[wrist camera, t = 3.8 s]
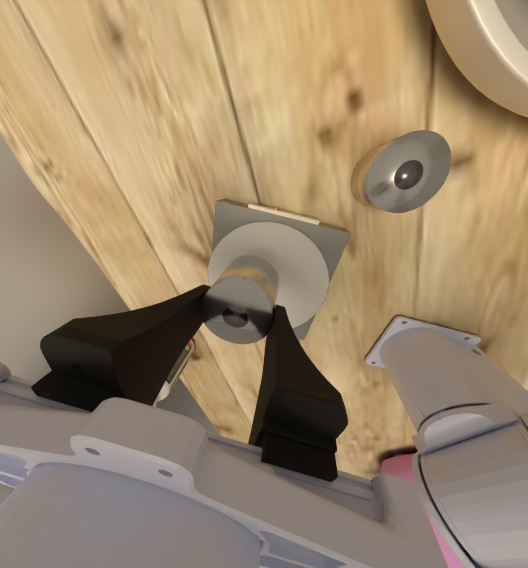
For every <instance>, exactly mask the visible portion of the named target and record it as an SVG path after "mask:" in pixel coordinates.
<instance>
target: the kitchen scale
mask: <svg viewBox="0 0 528 568" xmlns="http://www.w3.org/2000/svg"><path fill="white" fill-rule="evenodd" d="M319 222H320V221H319V220H318V219H314V218H310V217H306V216H302V215H298V214H294V213H290V212H286V211H282V210H278V207H275V208H274V209H273V208H269V207H265V206H261V205H257V204H253V203H250V204H248V205H245V204H241V203H237V202H233V201H229V200H225V199H222V200H217V201H216V207H215V220H214V234H213V248H212V255H211V258H210V261H209V266H208V281H209V286H210V287H211V286H212V285H213V284H214V283H215V281H216V280H217V279H218V277H219V276H220V275H221V274H222V272H223V271H224V270H225V269H226V267H227V266H228V265H229V264H230V263H231V261H233V260H234V259H236V258H238V257H240V256H244V255H253V256H258V257H260V258H263V259H265V260H266V261H268V262H269V263H270V264H271V265H272V266H273V267H274V269H275V270H276V272H277V275H278V278H279V286H278V292H277V297H276V303H275V305H280V306H284V307H285V308H286V312H287V315H288V318H289V321H290V324H291V326H292V329H293V331H294V333H295V335H296V337H297V339H300V340H304V339H305V337H306V335H307V332H308V330H309V328H310V326H311V323H312V321H313V319H314V317H315V314H316V313H317V312H318V310H319V309H320V307H321V306H322V304H323V302H324V300H325V298H326V295H327V291H328V286H329V282H330V280H331V278H332V275H333V273H334V271H335V269H336V266H337V264H338V262H339V260H340V257H341V255H342V253H343V250H344V248H345V246H346V244H347V241H348V239H349V237H350V234H351V233H349V232H348V231H347V230H346V229H343V228H339V227H335V226H331V225H327V224H323V223H319Z"/></svg>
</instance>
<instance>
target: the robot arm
mask: <svg viewBox="0 0 528 568" xmlns="http://www.w3.org/2000/svg"><path fill="white" fill-rule="evenodd" d="M210 288H211V287H210V286H207V285H201V286H199V287H197V288H194V289H192V290H190V291H188V292H186V293H184V294H181V295H179V296H177V297H174V298H172V299H169V300H166V301H164V302H161V303H158V304H155V305H152V306H148V307H145V308H140V309H136V310H132V311H128V312H123V313H117V314H111V315H104V316H96V317H88V318H77V319H73V320H71V321H69V322H68V323H66V324H64V325H63V326H61V327H60V328H58V329H56V330H54V331H53V332H51V333H49V334H48V335H46V336H44V337H43V338H42V340H41V343H40V348H41V350H42V353H43V355H44V357H45V359H46V360H47V362H48V364H49V366H50V368H51V370H52V371H51V372H50V373H48V374H47V375H46V376H44V377H43V378H42V379H40V380H39V381H38V382H34V381H30V380H27V379H23V378H20V377H17V376H13V375H11V372H10V370H9V369H8V367H6V365H4V364H3V363H1V362H0V483H2V484H4V485H7V486H10V487H12V488H15V490H14V491H13V493H12V494H11V495H10V496H9V497H8V498H7V499H6V500H5V501H4V503H2V504H1V506H0V568H259V566H262V567H266V568H448V566H447V563H446V561H445V558H444V556H443V553H442V551H441V548H440V546H439V543H438V541H437V538H436V536H435V533H434V531H433V528H432V526H431V523H430V521H429V518H428V516H427V513H428V515H429V517H430V519H431V520H432V522H433V524H434V525H435V527H436V528H437V530H438V532H439V533H440V535H441V536H442V537H443V539H444V540H445V542H446V543H447V544H448V545H449V547H450V548H451V549H452V550H453V552H454V553H455V555H456V556H457V558H458V559H459V561H460V562H461V564H462V565H463V567H464V568H528V391H527V390H526V389H525V388H524V387H522V386H521V385H520V384H519V383H518V382H517V381H516V380H515V379H513V378H512V377H511V376H510V375H509V374H508V373H507V372H505V371H504V370H503V369H502V368H501V367H500V366H499V365H497V364H496V363H495V362H494V361H493V360H492V359H491V358H489V357H488V356H487V355H486V354H485V353H484V352H483V351H481V350H480V349H479V348H478V347H477V346H476V345H477V344H478V343H479V342H480V341H481V338H480V337H478V336H477V335H473V334H469V333H465V332H461V331H457V330H453V329H449V328H445V327H441V326H437V325H434V324H430V323H426V322H422V321H418V320H414V319H410V318H406V317H402V316H397V317H395V318H394V319H393V321H392V322H391V323H390V325H389V326H388V328H387V329H386V330H385V332H384V333H383V335H382V336H381V337H380V339H379V340H378V342H377V343H376V344H375V346H374V347H373V349H372V350H371V351H370V353H369V354H368V356H367V357H366V358H365V362H366V364H369V365H373V366H377V367H381V368H384V369H386V370H387V372H388V374H389V376H390V378H391V380H392V382H393V384H394V386H395V388H396V390H397V392H398V394H399V396H400V398H401V400H402V402H403V404H404V406H405V408H406V410H407V412H408V414H409V416H410V418H411V420H412V422H413V424H414V426H415V428H416V430H417V432H418V434H416V435H415V436H413V437H412V440H413V442H414V444H415V446H416V448H417V450H418V452H416V453H415V454H414V455H413V457H412V470H413V475H414V481H415V484H414V483H413V482H412V481H409V480H406V479H402V478H399V477H396V476H392V475H389V474H378V475H376V476H374V477H373V478H372V480H370V479H366V478H363V477H359V476H356V475H352V474H349V473H346V472H342V471H339V470H337V466H336V459H335V453H336V452H337V445H336V438H337V437H338V436H339V435H340V434H341V433H342V432H343V431H344V429H345V428H346V426H347V425H348V418H347V413H346V409H345V405H344V402H343V399H342V396H341V394H340V393H339V392H338V391H337V390H336V389H335V388H334V386H333V385H332V384H331V383H330V382H329V381H328V380H327V379H326V378H325V377H324V376H323V375H322V374H321V373H320V371H319V370H318V369H317V368H316V367H315V365H314V364H313V363H312V361H311V360H310V359H309V357H308V356H307V355H306V353H305V351H304V350H303V348H302V347H301V345H300V343H299V341H298V339H297V337H296V335H295V333H294V331H293V329H292V326H291V324H290V321H289V318H288V315H287V312H286V308H285V307H284V306H280V305H275V308H274V314H273V320H272V325H271V329H270V331H269V332H268V334H267V337H266V345H265V355H264V365H263V374H262V380H261V385H260V390H259V395H258V400H257V405H256V410H255V415H254V419H253V424H252V429H251V434H250V438H249V443H248V444H246V443H243V442H239V441H236V440H233V439H229V438H226V437H222V436H218V435H215V434H212V433H209V432H206V431H205V428H204V427H203V426H202V425H200V424H199V423H198V422H197V421H195V420H193V419H191V418H188V417H186V416H183V415H180V414H176V413H173V412H169V411H166V410H162V409H159V408H156V407H152V406H153V404H154V402H155V400H156V398H157V396H158V395H159V393H160V391H161V389H162V387H163V385H164V383H165V381H166V379H167V378H168V376H169V374H170V372H171V370H172V369H173V367H174V365H175V363H176V362H177V360H178V358H179V356H180V355H181V353H182V351H183V350H184V348H185V347H186V346H187V344H188V343H189V342H190V340H191V339H192V337H193V336H194V335H195V333H196V332H197V330H198V329H199V328H200V326H201V325H202V323H203V320H202V318H201V314H200V303H201V300H202V298H203V297H204V295H205V294H206V293H207V291H208V290H209V289H210ZM403 321H404V322H403ZM334 452H335V453H334ZM415 485H416V486H415ZM416 488H417V489H416ZM418 493H419V494H418ZM420 498H421V499H420ZM423 505H424V506H423ZM424 507H425V508H424ZM425 509H426V511H427V513H426V511H425Z"/></svg>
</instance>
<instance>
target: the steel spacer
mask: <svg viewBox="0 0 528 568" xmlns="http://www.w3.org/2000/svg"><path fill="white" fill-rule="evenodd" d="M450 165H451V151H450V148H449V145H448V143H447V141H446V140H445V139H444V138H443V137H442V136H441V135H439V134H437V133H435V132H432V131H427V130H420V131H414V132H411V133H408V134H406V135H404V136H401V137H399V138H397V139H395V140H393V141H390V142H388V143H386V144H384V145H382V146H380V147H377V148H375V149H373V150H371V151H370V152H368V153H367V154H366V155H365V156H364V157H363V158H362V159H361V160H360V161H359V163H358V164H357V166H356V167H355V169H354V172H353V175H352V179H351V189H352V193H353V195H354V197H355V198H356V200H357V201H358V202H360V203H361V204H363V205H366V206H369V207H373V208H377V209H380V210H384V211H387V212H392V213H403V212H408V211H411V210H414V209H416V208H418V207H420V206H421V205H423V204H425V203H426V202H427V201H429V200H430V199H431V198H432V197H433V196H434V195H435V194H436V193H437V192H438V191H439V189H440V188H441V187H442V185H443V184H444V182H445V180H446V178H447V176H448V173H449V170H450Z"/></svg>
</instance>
